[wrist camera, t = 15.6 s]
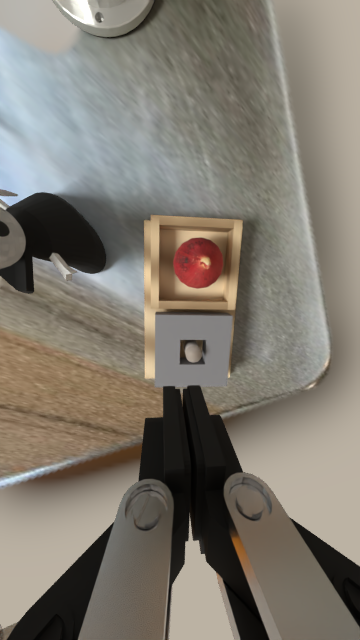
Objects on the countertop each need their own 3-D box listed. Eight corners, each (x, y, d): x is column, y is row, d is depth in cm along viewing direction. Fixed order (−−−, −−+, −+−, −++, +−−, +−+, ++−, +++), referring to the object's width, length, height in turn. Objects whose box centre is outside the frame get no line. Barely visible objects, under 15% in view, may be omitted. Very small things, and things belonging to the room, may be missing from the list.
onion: (167, 281, 28) (169, 283, 20) (177, 237, 27) (183, 222, 19) (208, 291, 29) (225, 296, 21) (219, 249, 28) (241, 238, 20)
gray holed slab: (155, 311, 28) (155, 314, 25) (227, 312, 28) (232, 315, 26) (155, 378, 30) (154, 387, 27) (221, 377, 30) (226, 386, 28)
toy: (123, 249, 27) (29, 271, 13) (93, 282, 29) (-10, 330, 16) (50, 171, 24) (-157, 100, 11) (25, 215, 27) (-167, 203, 13)
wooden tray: (144, 222, 27) (140, 208, 22) (240, 227, 28) (258, 215, 23) (145, 375, 32) (142, 395, 26) (227, 374, 33) (240, 393, 27)
